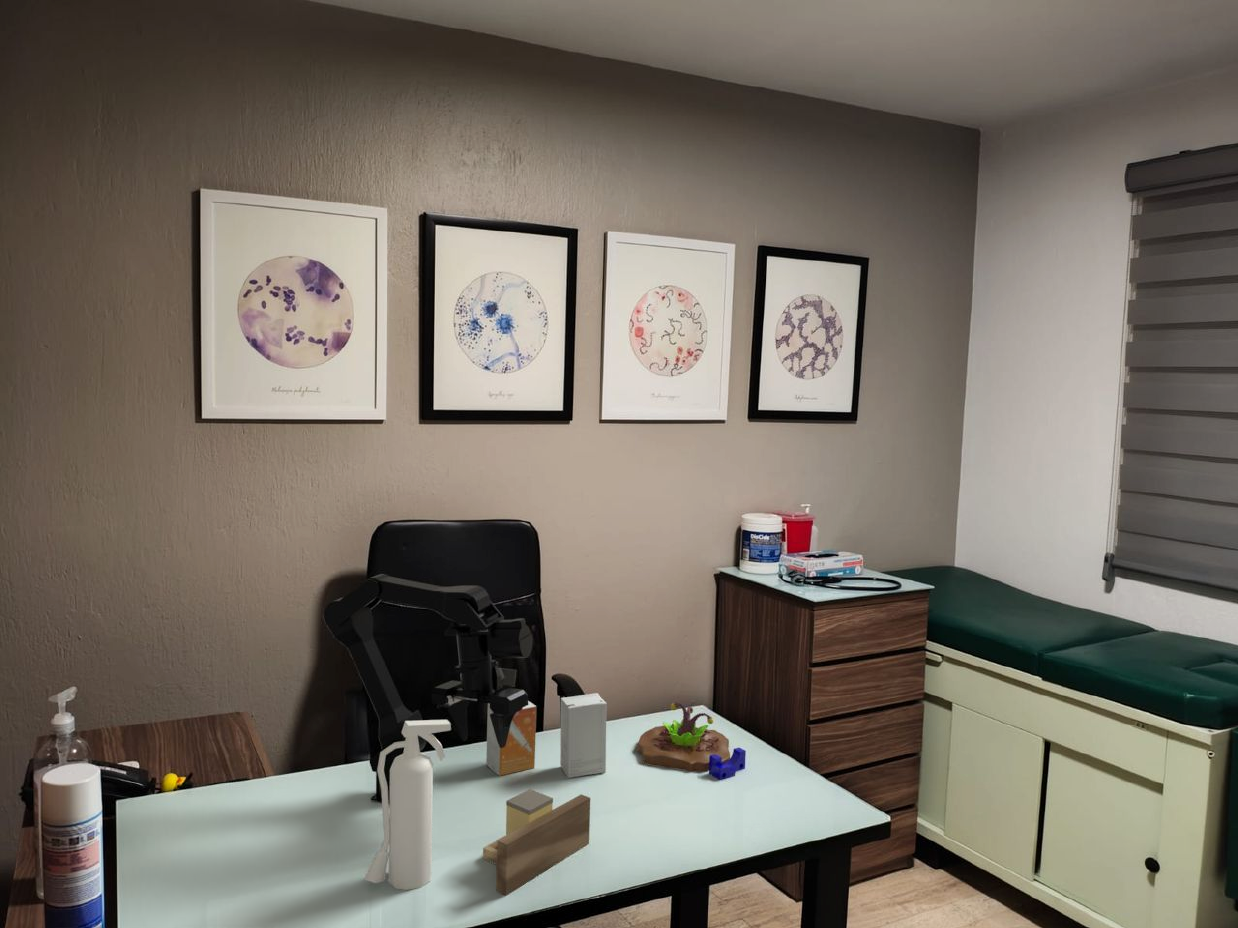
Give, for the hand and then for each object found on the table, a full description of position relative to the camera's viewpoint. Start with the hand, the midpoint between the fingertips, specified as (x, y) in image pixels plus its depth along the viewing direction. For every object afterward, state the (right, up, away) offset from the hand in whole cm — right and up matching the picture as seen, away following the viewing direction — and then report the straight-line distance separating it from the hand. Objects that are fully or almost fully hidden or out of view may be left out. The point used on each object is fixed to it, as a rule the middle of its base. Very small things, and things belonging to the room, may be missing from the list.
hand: (483, 743), depth 156 cm
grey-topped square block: (+10, -14, -14) cm, 22 cm away
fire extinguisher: (-9, -14, -21) cm, 27 cm away
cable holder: (+47, -13, +21) cm, 53 cm away
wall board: (+9, -14, -13) cm, 21 cm away
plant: (+38, -12, +31) cm, 50 cm away
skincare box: (+17, -12, +20) cm, 28 cm away
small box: (+2, -11, +20) cm, 23 cm away
